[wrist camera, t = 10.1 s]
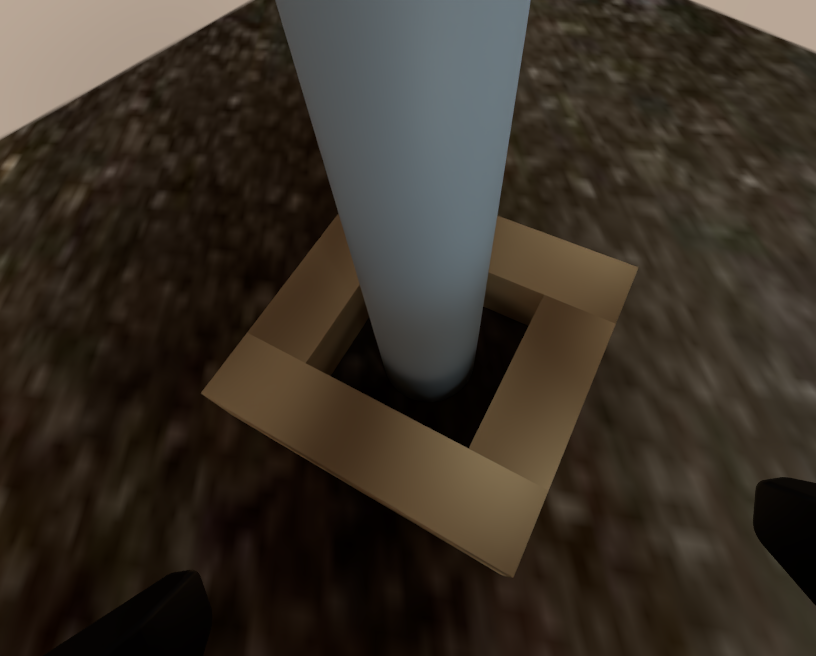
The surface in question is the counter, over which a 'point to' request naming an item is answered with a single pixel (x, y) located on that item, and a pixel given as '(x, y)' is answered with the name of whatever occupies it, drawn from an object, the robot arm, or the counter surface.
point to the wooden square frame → (410, 440)
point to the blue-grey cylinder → (414, 162)
